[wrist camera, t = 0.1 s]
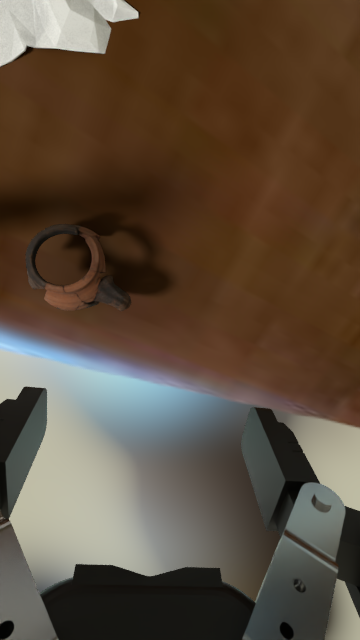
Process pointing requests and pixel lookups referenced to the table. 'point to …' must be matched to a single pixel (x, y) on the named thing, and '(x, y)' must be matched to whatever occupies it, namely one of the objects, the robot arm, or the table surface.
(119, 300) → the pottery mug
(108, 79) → the table surface
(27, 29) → the cloth
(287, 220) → the table surface
